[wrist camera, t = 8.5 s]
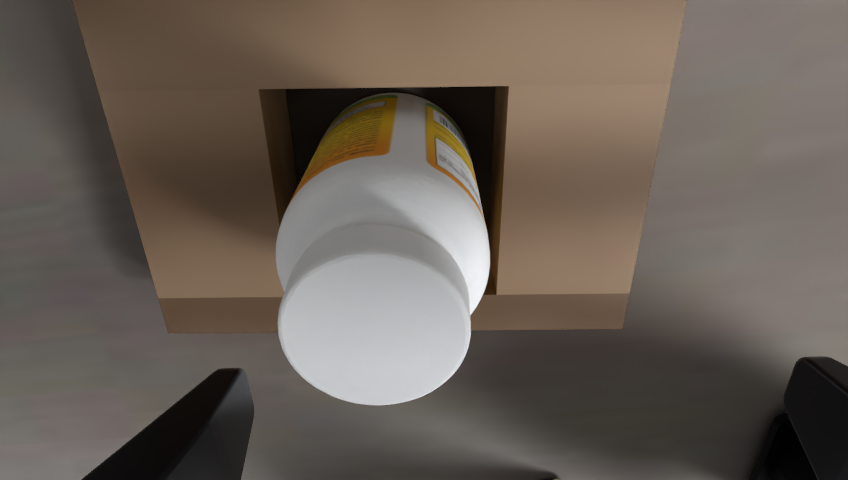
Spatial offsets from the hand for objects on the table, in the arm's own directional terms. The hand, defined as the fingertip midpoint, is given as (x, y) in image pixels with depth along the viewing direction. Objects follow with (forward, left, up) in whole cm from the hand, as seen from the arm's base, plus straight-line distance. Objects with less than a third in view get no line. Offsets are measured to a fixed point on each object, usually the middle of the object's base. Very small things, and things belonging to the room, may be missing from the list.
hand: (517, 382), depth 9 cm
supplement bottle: (-1, +3, -12) cm, 12 cm away
